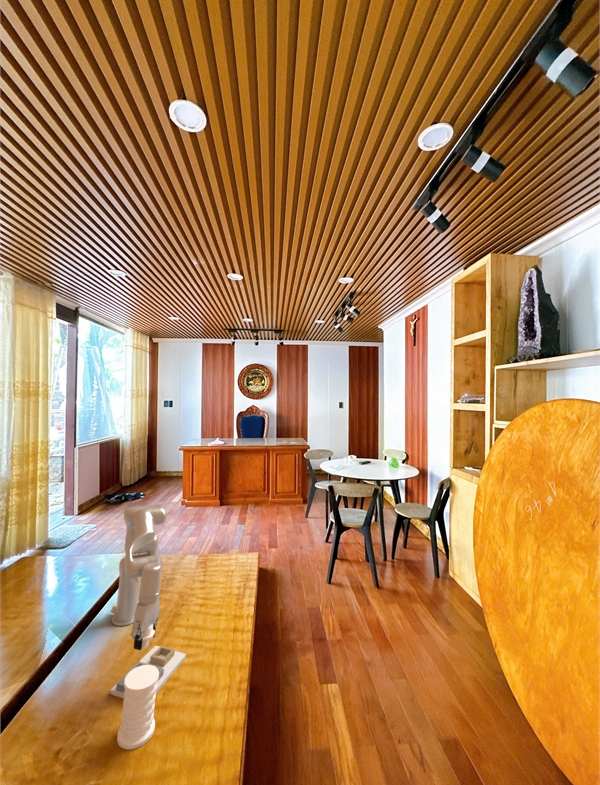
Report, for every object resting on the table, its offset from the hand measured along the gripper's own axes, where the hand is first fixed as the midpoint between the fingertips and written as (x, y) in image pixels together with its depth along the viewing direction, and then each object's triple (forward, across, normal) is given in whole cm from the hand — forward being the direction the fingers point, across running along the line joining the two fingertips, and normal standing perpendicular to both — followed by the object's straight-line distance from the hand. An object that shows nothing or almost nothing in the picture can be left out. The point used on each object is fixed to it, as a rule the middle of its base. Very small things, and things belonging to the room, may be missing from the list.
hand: (144, 642), depth 131 cm
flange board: (+17, -6, 0) cm, 18 cm away
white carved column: (+17, +16, +12) cm, 26 cm away
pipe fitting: (+2, 0, 0) cm, 2 cm away
